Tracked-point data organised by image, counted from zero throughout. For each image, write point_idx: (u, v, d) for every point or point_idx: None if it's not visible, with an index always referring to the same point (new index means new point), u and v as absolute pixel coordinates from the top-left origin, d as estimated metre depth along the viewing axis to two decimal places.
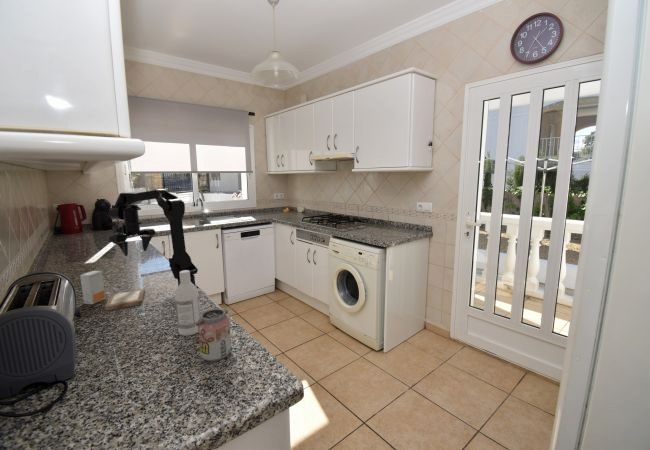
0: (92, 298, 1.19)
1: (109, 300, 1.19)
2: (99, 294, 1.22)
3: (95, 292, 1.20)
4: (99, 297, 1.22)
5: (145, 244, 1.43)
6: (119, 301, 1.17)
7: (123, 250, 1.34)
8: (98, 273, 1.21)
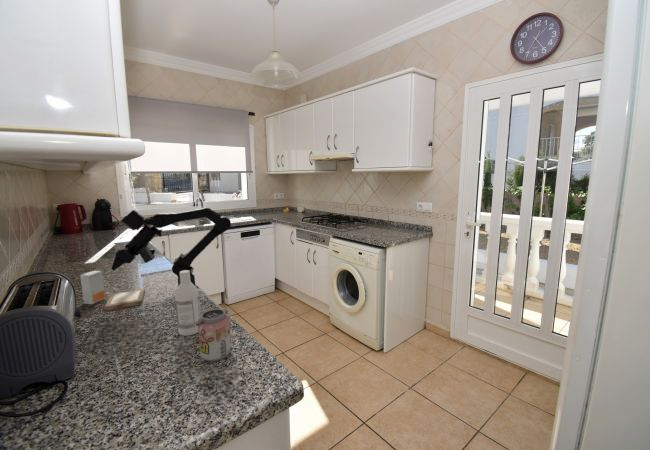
0: (92, 298, 1.19)
1: (109, 300, 1.19)
2: (99, 294, 1.22)
3: (95, 292, 1.20)
4: (99, 297, 1.22)
5: None
6: (119, 301, 1.17)
7: None
8: (98, 273, 1.21)
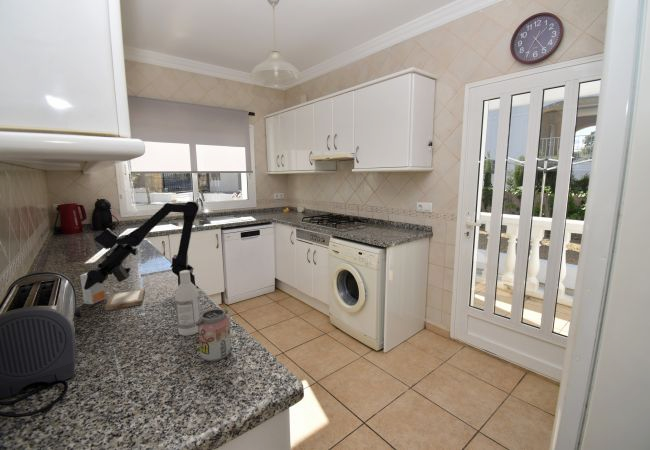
0: (92, 298, 1.19)
1: (109, 300, 1.19)
2: (99, 294, 1.22)
3: (95, 292, 1.20)
4: (99, 297, 1.22)
5: None
6: (119, 301, 1.17)
7: None
8: None
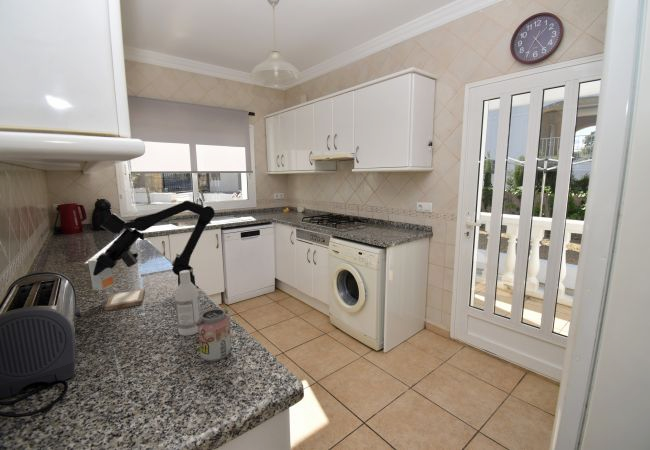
0: (102, 284, 1.18)
1: (109, 300, 1.19)
2: (108, 280, 1.21)
3: (104, 278, 1.19)
4: (108, 283, 1.21)
5: None
6: (119, 301, 1.17)
7: None
8: None
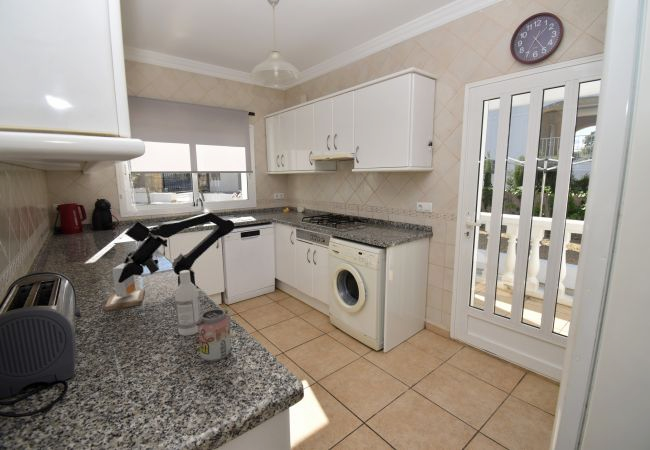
0: (126, 291, 1.19)
1: (109, 300, 1.19)
2: (130, 287, 1.22)
3: (128, 284, 1.20)
4: (131, 289, 1.22)
5: None
6: (119, 301, 1.17)
7: None
8: None
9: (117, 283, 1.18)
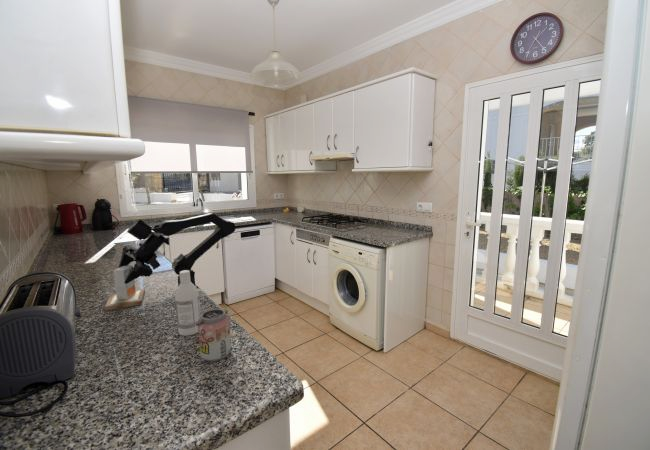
0: (126, 293, 1.19)
1: (109, 300, 1.19)
2: (131, 289, 1.22)
3: (128, 287, 1.20)
4: (131, 292, 1.22)
5: None
6: (119, 301, 1.17)
7: None
8: (130, 268, 1.22)
9: (118, 285, 1.18)
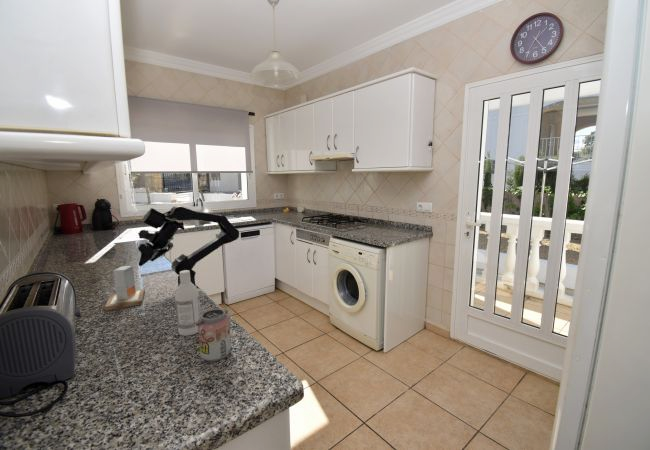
0: (126, 293, 1.19)
1: (109, 300, 1.19)
2: (131, 289, 1.22)
3: (128, 287, 1.21)
4: (131, 292, 1.22)
5: (157, 256, 1.31)
6: (119, 301, 1.17)
7: (142, 260, 1.21)
8: (130, 268, 1.22)
9: (118, 285, 1.19)
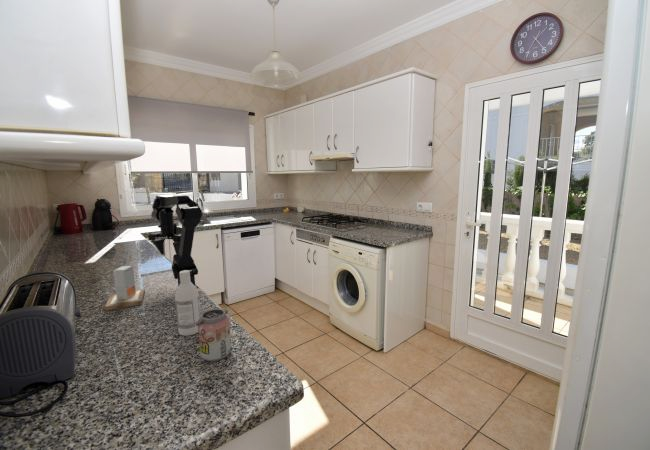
0: (126, 293, 1.19)
1: (109, 300, 1.19)
2: (131, 289, 1.22)
3: (128, 287, 1.21)
4: (131, 292, 1.22)
5: None
6: (119, 301, 1.17)
7: None
8: (130, 268, 1.22)
9: (118, 285, 1.19)
